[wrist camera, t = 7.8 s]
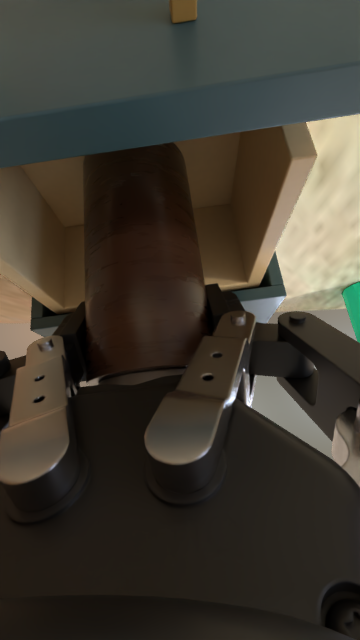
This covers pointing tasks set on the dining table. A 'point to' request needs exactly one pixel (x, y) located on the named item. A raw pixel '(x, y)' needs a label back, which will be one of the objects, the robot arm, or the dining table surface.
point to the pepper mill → (141, 266)
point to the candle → (353, 306)
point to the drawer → (165, 120)
